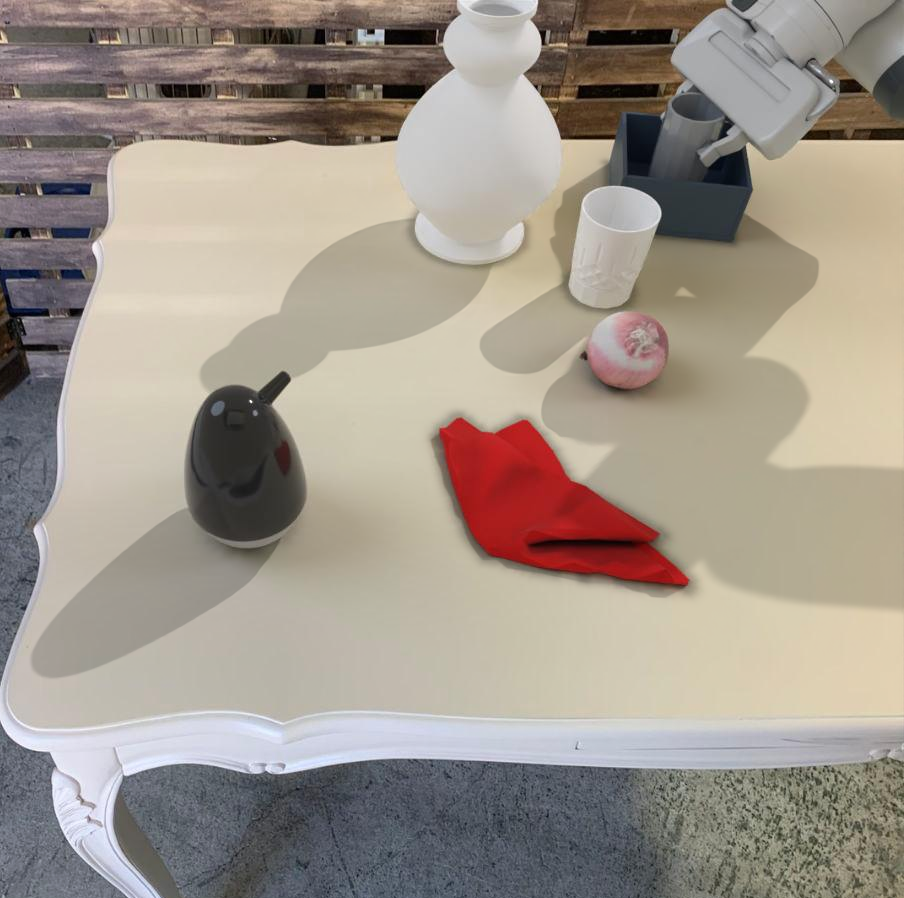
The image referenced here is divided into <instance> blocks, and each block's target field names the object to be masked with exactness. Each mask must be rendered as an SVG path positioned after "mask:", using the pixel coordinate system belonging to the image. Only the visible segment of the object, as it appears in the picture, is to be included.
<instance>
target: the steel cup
mask: <svg viewBox="0 0 904 898" xmlns="http://www.w3.org/2000/svg"><path fill="white" fill-rule="evenodd" d="M664 112H665V115H664V118H663V122H662V125H661V129H660V132H659V136H658V139H657V143H656V146H655V150H654V153H653V157H652V160H651V164H650V167H649V171H648V176H647V177H652V178H662V179H672V180H682V181H692V182H702V183H704V182H705V179H706V176H707V173H708V170H709V167H710V166H709V167H705V166H704V165H703V163H702V162H701V161H700V160H699V159H698V158H697V156H696V155H695V153H696V151H697V150H698V149H699V148H701V147H702V145H703V144H704V143H705V142H707V141H708V142H709V143H711V144H713V143H715V142H717V141H719V138H720V135H721V132H722V129H723V126H724V124H725V121H726V118H727V116H726V115H725V114H724V113H723V112H722V111H721V110H720V109H719V108H718V107H717V106H716V105H715V104H714V103H712V102H711V101H710V100H709V99H708V98H707V97H706V96H705V95H704V94H703V93H695V92H687V93H680V94H677V95H676V94H675V95H673V96H671V97H670V99H669V100H668V101H667V104H666V107H665V110H664Z"/></svg>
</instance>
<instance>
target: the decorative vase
mask: <svg viewBox="0 0 904 898" xmlns="http://www.w3.org/2000/svg"><path fill="white" fill-rule="evenodd" d="M538 5H539V0H456V8H457V11H458V12H459V13H460V14H459V15H458V16H457V17H455V18H454V19H453V20H452V21H451V23H449V24H448V26H447V28H446V29H445V32H444V35H443V39H442V45H443V47H442V48H443V52H444V55H445V56H446V58H447V60H448V62H449V63H450V64H451V65H452V66H453V69H452V70H450V71H449V72H447V73H446V74H445V75H443V76H442V78H440V79H439V80H438V81H437V82H436V83H434V84H433V85H432V86H431V87H430V88H429V89H428V90H427V91H426V92H425V93H424V94H423V95H422V96H421V97H420V98H419V100H417V102H416V104H415V105H414V106H413V107H412V109H411V110H410V111H409V113H408V115H407V116H406V118H405V120H404V121H403V123H402V125H401V128H400V130H399V133H398V136H397V140H396V146H395V154H394V161H395V162H394V163H395V164H394V165H395V171H396V176H397V179H398V181H399V184H400V186H401V188H402V190H403V191H404V193H405V194H406V196H407V198H408V199H409V200H410V202H411V203H412V204H413V205H414V206H415V208H416V209H417V210H418V214H417V216H416V218H415V221H414V222H415V223H414V232H415V233H414V234H415V236H416V239H417V241H418V243H420V245H421V246H422V247H423V248H424V249H425V250H426V251H428V252H429V253H430V254H432V255H434V256H435V257H438V258H439V259H442V260H445V261H448V262H452V263H454V264H455V263H456V264H461V265H486V264H487V265H488V264H492V263H496V262H499V261H502V260H504V259H506V258H508V257H509V256H511V255H513V254H514V253H515V252H516V251H517V250H518V249H519V248H520V247H521V245H522V243H523V240H524V237H525V235H524V234H525V226H524V223H523V222H524V221H525V220H526V219H528V218H529V217H531V215H533V213H535V212H536V211H537V210H538V209H540V208H541V207H542V206H543V205H544V204H545V202H546V201H547V200H548V199H549V197H550V196H551V195H552V193H553V192H554V191H555V188H556V187H557V183H558V182H559V178H560V175H561V172H562V166H563V164H562V163H563V144H562V138H561V135H560V131H559V127H558V124H557V122H556V120H555V118H554V116H553V114H552V112H551V110H550V108H549V107H548V104H547V103H546V101H545V99H544V98H543V97H542V95H541V94H540V93H539V91H538V90H537V88H536V87H535V86H534V85H533V84H532V83H531V82H530V81H529V79H528V78H527V77H526V76H525V75H524V74H525V73H526V72H527V71H528V70H530V69H531V68H532V67H533V66H534V64H535V63H536V62H537V61H538V59H539V57H540V54H541V51H542V38H541V37H542V36H541V34H540V31H539V30H538V28H537V26H536V24H535V23H534V22H533V21H532V20H531V19H533V17H534V16H536V14H537V11H538Z"/></svg>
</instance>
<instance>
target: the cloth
mask: <svg viewBox="0 0 904 898" xmlns="http://www.w3.org/2000/svg"><path fill="white" fill-rule="evenodd" d="M438 429H439V431H438V432H439V438H440V440H441V442H442V443H443V450H444V457H445V462H446V465H447V468H448V472H449V476H450V479H451V483H452V487H453V490H454V492H455V494H456V498H457V500H458V503H459V506H460V509H461V511H462V515H463V517H464V519H465V521H466V524H467V526H468V528H469V531H470V532H471V534H472V536H473V538H474V539H475V540H476V541H477V543H478V544H479V545H480V546H481V547H482V548H483V549H484V551H485V552H486V553H487V554H488V555H490V556H493V557H497V558H502V559H505V560H509V561H514V562H517V563H519V564H520V563H521V564H525V565H528V566H532V567H537V568H543V569H551V570H560V571H568V572H575V573H576V572H577V573H583V574H604V575H608V576H612V577H616V578H619V579H624V580H631V581H639V582H640V581H643V582H651V583H661V584H670V585H672V584H673V585H681V586H688V584H689V583H690V578H688V576H686V575H685V574H684V573H683V572H682V571H681V569H680V568H679V567H677V566H676V565H675V564H674V563H673V562H671V561H670V560H669V559H668V558H666V557H665V555H663V554H662V553H661V552H659V551H658V550H657V549H656V548H655V547H654V546H652V545H651V544H650V543H649V542H651V541H652V542H654V541H655V540H656V539H657V537H658V536H659V535H660V534H661V533H660V532H659V531H657V530H655V529H654V528H652V527H650V526H649V525H647V524H645V523H644V522H642V521H641V520H639V519H637V518H635V517H634V516H633V515H631V514H629V513H627V512H626V511H624V510H622V509H621V508H619V507H617V506H616V505H614V504H613V503H611V502H609V501H607V500H606V499H605V498H603V497H602V496H600V495H599V494H598V493H596V492H595V491H594V490H593V489H591V488H589V487H588V486H587V485H585V484H582V483H579V482H576V481H573V480H572V479H571V478H570V476H568V475H567V473H566V472H565V470H564V467H563V466H562V464H561V462H560V460H559V459H558V457H557V455H556V454H555V451H554V450H553V449H552V447H551V446H550V445H549V444H548V442H547V441H546V440H545V439H544V437H543V436H542V434H541V433H540V432H539V431H538V429H536V427H535V426H533V424H532V423H531V422H530V421H529V420H528V419H521V420H519V421H517V422H515V423H512V424H510V425H508V426H505V427H503V428H501V429H500V430H498V431H497V432H495V433H494V432H492V431H481V430H480V429H478V428H477V427H476V426H474V425H473V424H472V423H470V421H469V422H468V421H467V420H466V419H464V418H463V417H456V418H455V419H454V420H452V422H450V424H448V425H447V426H446V427H439V428H438Z"/></svg>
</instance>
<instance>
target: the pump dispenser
mask: <svg viewBox="0 0 904 898" xmlns="http://www.w3.org/2000/svg"><path fill="white" fill-rule="evenodd" d="M291 382H292V376H291V375H290V374H289V373H288V371H285V370H281V371H280V372H279V373H278V374H276V375H275V376H274V377H273V378H272V379H270V380H269V381H268V382H267V383H266V384H265V385H263V386H262V387H261V388H260V389H259V390H256V389H255V388H252V387H249V386H247V385H244V384H241V383H240V384H239V383H230V384H225V385H221V386H219V387H217V388H216V389H214V390H212V392H210V393H209V394H208V395H207V396H206V397H205V398H204V400H203V401H202V402H201V404H200V406H199V408H198V409H197V410H196V413H195V415H194V418H193V421H192V423H191V426H190V430H189V433H188V438H187V443H186V448H185V453H184V462H183V463H184V464H183V490H184V491H183V492H184V498H185V502H186V506H187V509H188V512H189V514H190V516H191V518H192V519H193V520H194V522H195V523H196V524H197V525H198V527H200V528H202V530H203V531H205V532H206V533H207V534H208V535H209V536H210V537H212V538H213V539H214V540H216V541H218V542H220V543H221V544H224V545H226V546H229V547H233V548H239V549H254V548H255V549H256V548H261V547H265V546H267V545H270V544H272V543H274V542H276V541H278V540H279V539H281V538H282V537H284V536H285V535H286V533H288V532H289V531H290V530H291V529H292V527H293V526H294V524H295V523H296V522H297V520H298V518H299V516H300V515H301V513H302V511H303V509H304V507H305V505H306V501H307V497H308V481H307V476H306V470H305V466H304V463H303V460H302V457H301V453H300V450H299V448H298V447H299V446H298V444H297V442H296V440H295V437H294V436H293V434H292V432H291V430H290V428H289V426H288V424H287V422H286V421H285V419H284V418H283V416H282V415H281V413H279V411H278V410H277V408H275V407H274V402H275V401H276V400H277V399H278V398H279V396H280V395H281V394H282V393H283V391H284V390H285V389H286V388H287V387H288V385H289V384H290V383H291Z"/></svg>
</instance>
